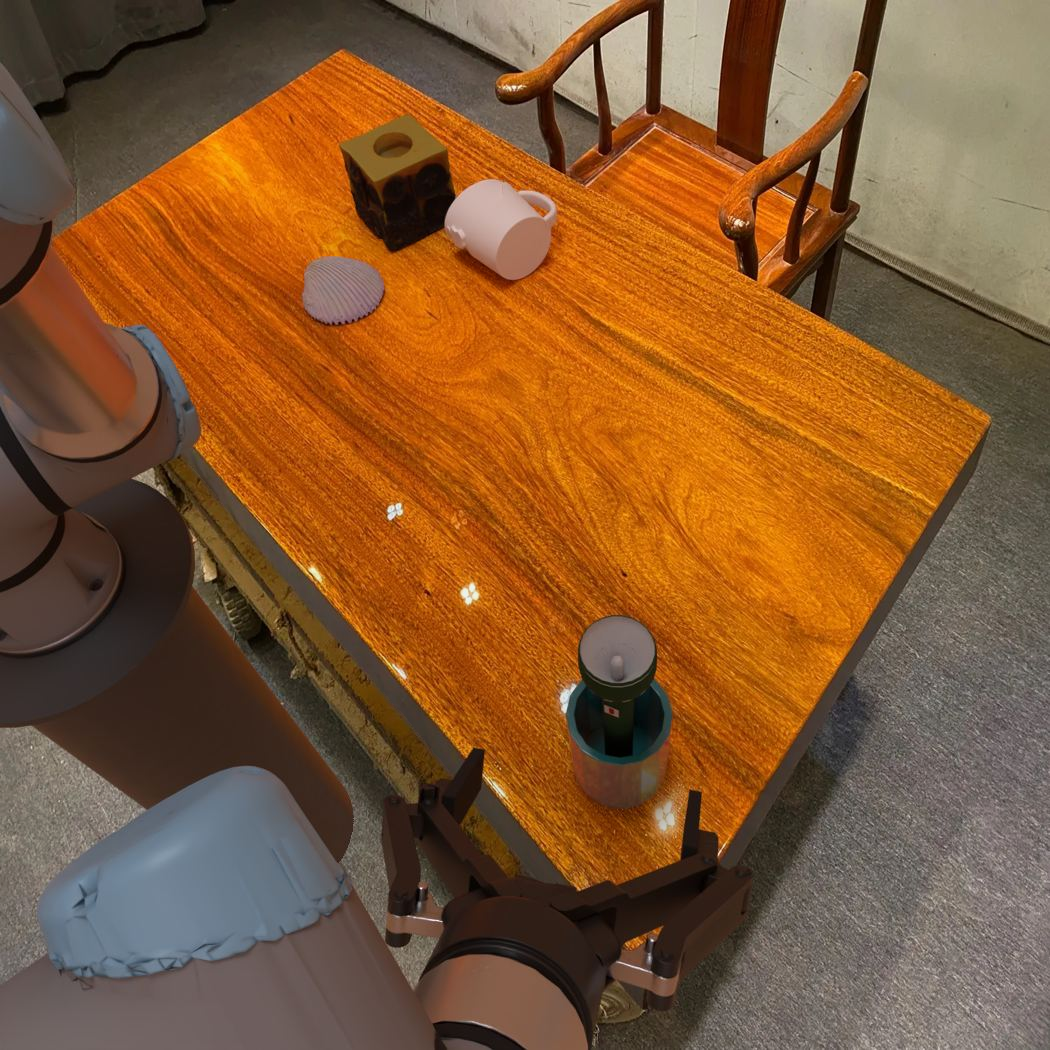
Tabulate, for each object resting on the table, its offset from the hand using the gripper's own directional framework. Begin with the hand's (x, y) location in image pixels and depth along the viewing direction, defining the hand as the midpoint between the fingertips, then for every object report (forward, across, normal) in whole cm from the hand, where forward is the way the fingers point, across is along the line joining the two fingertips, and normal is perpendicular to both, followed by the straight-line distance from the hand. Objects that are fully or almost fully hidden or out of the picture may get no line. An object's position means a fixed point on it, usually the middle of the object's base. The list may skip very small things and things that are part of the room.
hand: (582, 788), depth 58 cm
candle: (+64, -37, +39) cm, 84 cm away
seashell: (+53, -41, +29) cm, 73 cm away
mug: (+60, -22, +36) cm, 74 cm away
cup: (+18, +1, -6) cm, 19 cm away
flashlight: (+17, +1, -6) cm, 18 cm away
